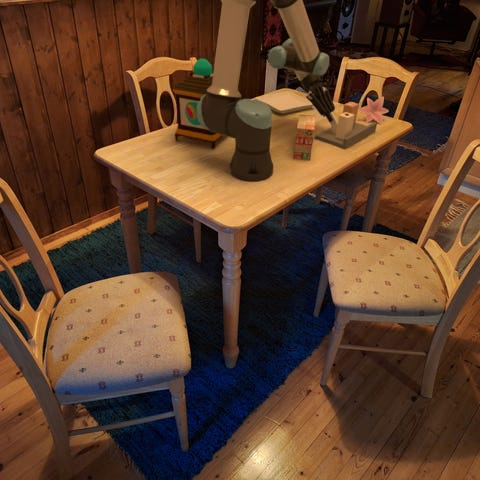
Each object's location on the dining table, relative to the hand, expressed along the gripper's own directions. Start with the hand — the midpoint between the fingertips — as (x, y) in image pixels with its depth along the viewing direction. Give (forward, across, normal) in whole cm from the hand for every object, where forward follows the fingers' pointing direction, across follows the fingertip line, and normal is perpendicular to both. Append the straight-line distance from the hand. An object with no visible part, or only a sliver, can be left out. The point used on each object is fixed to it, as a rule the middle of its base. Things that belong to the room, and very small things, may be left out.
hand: (337, 127), depth 167 cm
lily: (+4, -29, -3) cm, 29 cm away
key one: (+4, 0, 0) cm, 4 cm away
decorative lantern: (-23, +37, -30) cm, 53 cm away
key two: (+1, -12, -3) cm, 12 cm away
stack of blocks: (0, +17, -6) cm, 18 cm away
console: (+4, -6, -2) cm, 7 cm away
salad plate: (-23, -15, -30) cm, 41 cm away
